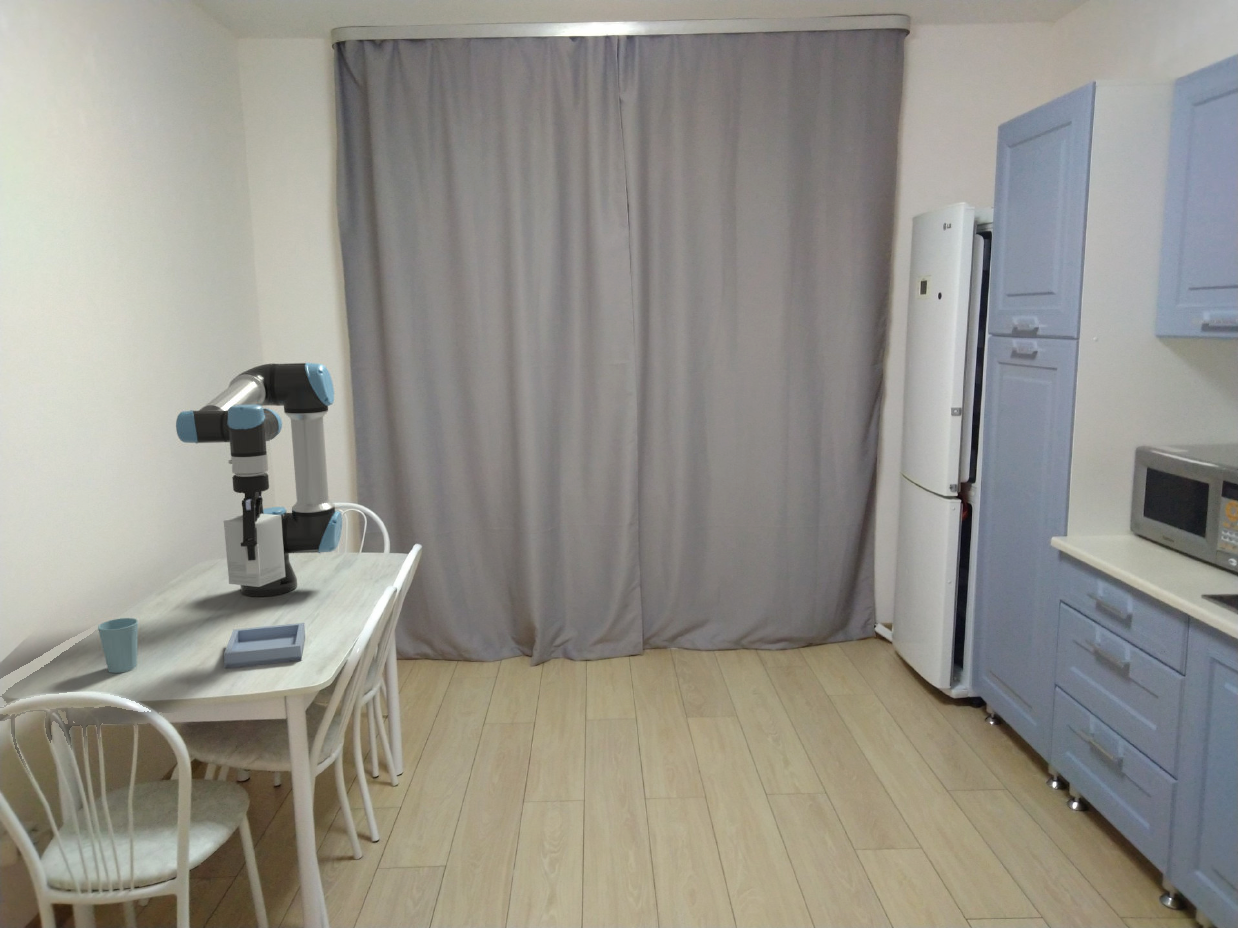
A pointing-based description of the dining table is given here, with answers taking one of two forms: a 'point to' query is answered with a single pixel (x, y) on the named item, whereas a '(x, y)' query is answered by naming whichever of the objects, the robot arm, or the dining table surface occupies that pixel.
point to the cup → (119, 644)
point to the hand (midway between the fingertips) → (256, 566)
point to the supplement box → (267, 546)
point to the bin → (265, 645)
